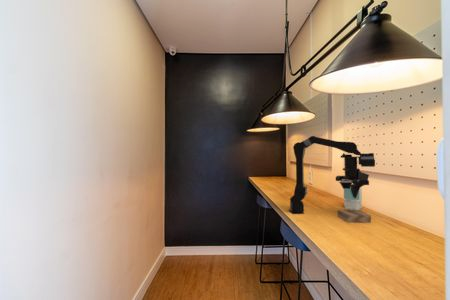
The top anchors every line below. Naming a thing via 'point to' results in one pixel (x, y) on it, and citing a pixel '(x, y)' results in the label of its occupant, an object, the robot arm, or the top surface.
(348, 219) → the walnut block
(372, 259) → the top surface
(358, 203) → the supplement box
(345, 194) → the teal cube
